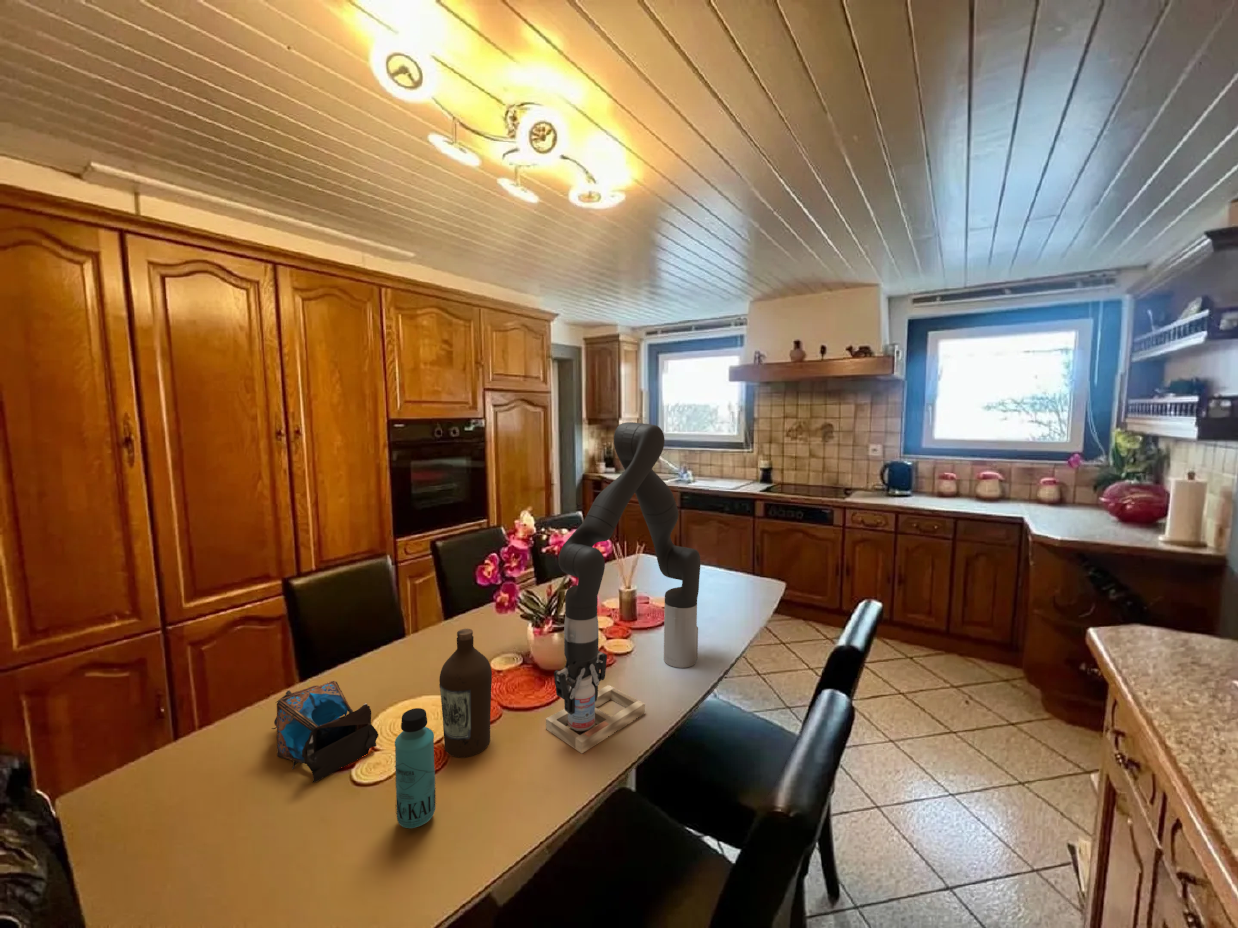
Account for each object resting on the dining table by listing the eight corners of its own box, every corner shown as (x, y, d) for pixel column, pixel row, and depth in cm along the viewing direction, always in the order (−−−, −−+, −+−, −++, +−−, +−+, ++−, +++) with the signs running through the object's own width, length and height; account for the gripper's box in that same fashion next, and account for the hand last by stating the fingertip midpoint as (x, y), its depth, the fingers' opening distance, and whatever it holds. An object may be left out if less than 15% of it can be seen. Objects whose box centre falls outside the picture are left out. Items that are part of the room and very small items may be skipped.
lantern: (352, 796, 103) (290, 746, 116) (399, 714, 110) (335, 676, 123) (284, 785, 91) (223, 731, 104) (342, 694, 99) (278, 654, 112)
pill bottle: (572, 735, 110) (572, 685, 109) (564, 719, 116) (564, 672, 115) (599, 728, 113) (599, 679, 112) (589, 713, 118) (589, 667, 117)
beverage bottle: (403, 809, 91) (399, 703, 89) (441, 807, 92) (438, 701, 90) (390, 839, 85) (385, 725, 83) (431, 836, 86) (428, 723, 84)
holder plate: (608, 694, 129) (608, 684, 129) (644, 713, 121) (644, 702, 121) (545, 729, 115) (545, 717, 115) (581, 753, 107) (581, 741, 106)
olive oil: (461, 724, 116) (458, 618, 114) (502, 733, 113) (500, 624, 111) (430, 754, 106) (426, 638, 104) (474, 765, 103) (472, 645, 101)
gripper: (593, 620, 120) (593, 688, 122) (544, 639, 110) (545, 713, 111) (616, 629, 115) (615, 700, 117) (567, 650, 105) (567, 727, 106)
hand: (581, 706), depth 114 cm, fingers closed on pill bottle, 6 cm apart
